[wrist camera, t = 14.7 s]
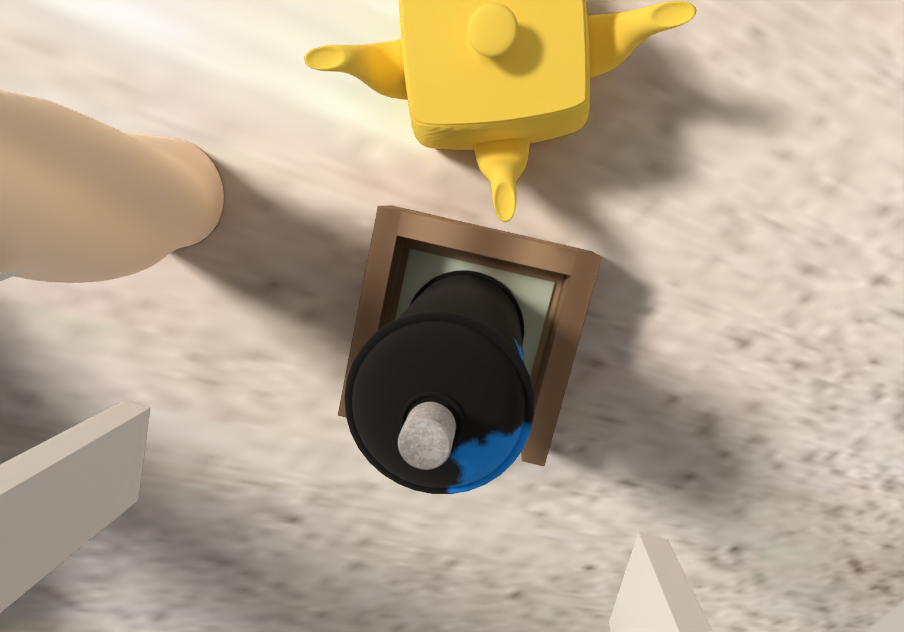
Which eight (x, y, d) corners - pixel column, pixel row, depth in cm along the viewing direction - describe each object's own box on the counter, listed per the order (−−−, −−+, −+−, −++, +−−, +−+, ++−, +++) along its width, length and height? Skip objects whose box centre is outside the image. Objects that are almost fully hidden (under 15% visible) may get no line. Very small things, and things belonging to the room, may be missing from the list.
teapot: (344, 90, 40) (294, 55, 30) (477, -99, 37) (467, -202, 27) (512, 228, 40) (515, 236, 31) (655, 53, 38) (706, 3, 28)
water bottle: (271, 221, 42) (-176, 256, 14) (180, 295, 43) (-375, 452, 16) (178, 100, 41) (-493, -109, 13) (89, 180, 42) (-671, 141, 15)
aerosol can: (382, 338, 41) (269, 459, 22) (452, 245, 40) (400, 284, 20) (474, 409, 42) (446, 590, 22) (549, 319, 40) (589, 430, 20)
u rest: (354, 394, 44) (337, 415, 39) (391, 205, 41) (377, 205, 36) (540, 439, 43) (544, 466, 39) (591, 251, 40) (601, 257, 36)
